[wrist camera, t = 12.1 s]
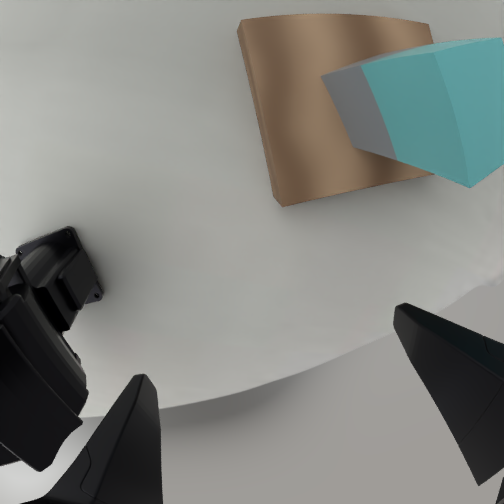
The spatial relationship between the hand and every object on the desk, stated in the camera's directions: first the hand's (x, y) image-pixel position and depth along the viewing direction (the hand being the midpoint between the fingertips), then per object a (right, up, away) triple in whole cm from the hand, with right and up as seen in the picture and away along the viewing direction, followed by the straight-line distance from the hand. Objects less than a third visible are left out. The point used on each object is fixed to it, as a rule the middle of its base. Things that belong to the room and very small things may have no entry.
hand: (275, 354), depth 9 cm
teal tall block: (+7, +13, +7) cm, 16 cm away
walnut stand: (+6, +14, +9) cm, 18 cm away
